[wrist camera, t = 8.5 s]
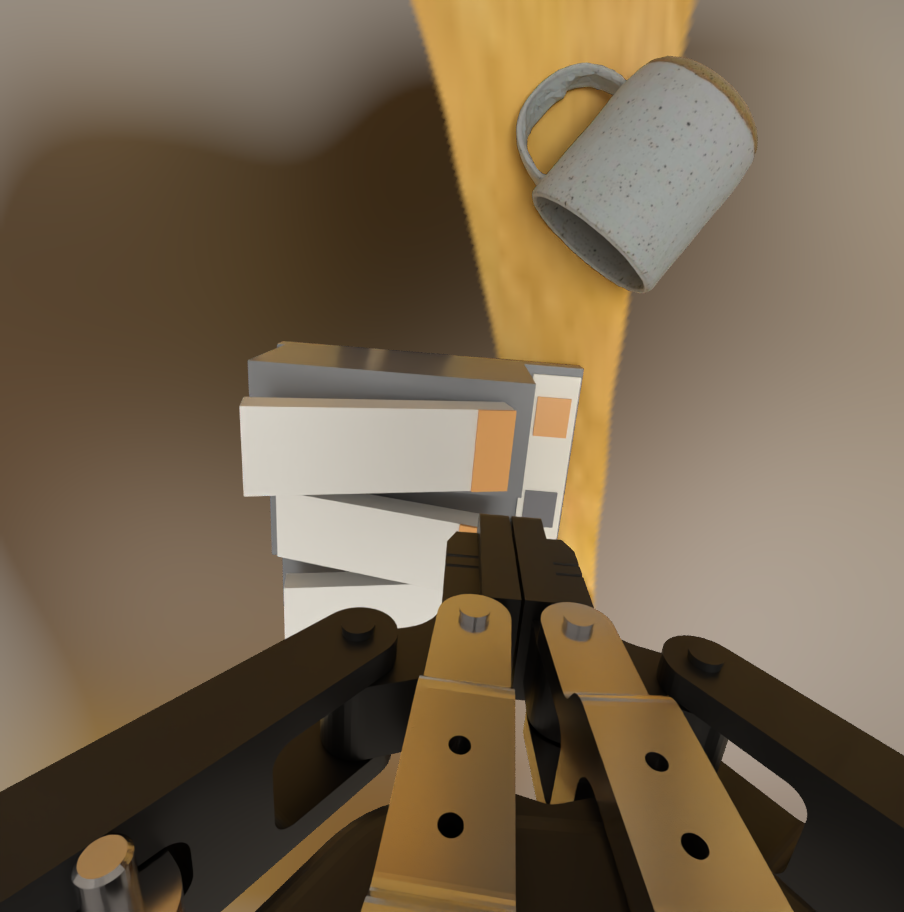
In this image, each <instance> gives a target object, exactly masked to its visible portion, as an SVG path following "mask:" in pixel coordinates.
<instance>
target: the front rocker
mask: <svg viewBox="0 0 904 912" xmlns="http://www.w3.org/2000/svg"><path fill="white" fill-rule="evenodd" d="M516 413H517V411H516V410H514V409H513V408H512V407H510V406H509V405H508V404H506V403H505V402H483V401H430V400H376V399H323V398H270V397H243V399H242V402H241V404H240V423H241V424H240V425H241V426H240V427H241V447H242V468H243V488H244V496H281V495H323V494H364V493H405V492H446V491H471V492H497V491H507V488H508V480H509V471H510V463H511V455H512V446H513V438H514V429H515V421H516Z"/></svg>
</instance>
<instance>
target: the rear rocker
mask: <svg viewBox="0 0 904 912" xmlns="http://www.w3.org/2000/svg"><path fill="white" fill-rule="evenodd" d="M442 595H443V591H440V590H435V589H431V588H426V587H421V586H416V585H412V584H407V583H402V582H397V581H393V580H388V579H383V578H378V577H373V576H369V575H364V574H359V573H354V572H325V573H289V574H286V579H285V584H284V617H285V639H286V638H288V637H290V636H292V635H294V634H296V633H298V632H299V631H301V630H303V629H305V628H307V627H309V626H311V625H312V624H314V623H316V622H318V621H320V620H322V619H324V618H326V617H327V616H329V615H331V614H333V613H335V612H337V611H340V610H343V609H347V608H354V607H366V608H373V609H377V610H380V611H382V612H384V613H386V614H388V615H389V616H390V617H391V618H392V619H393V620H394V621H395V623H396V624H397V628H404V627H411V626H416V625H419V624H422V623H424V622H427V621H428V620H430V619H432V618H433V617H434V616H435V615H436V614H437V612H438V609H439V606H440V605H441V604H442Z"/></svg>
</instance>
